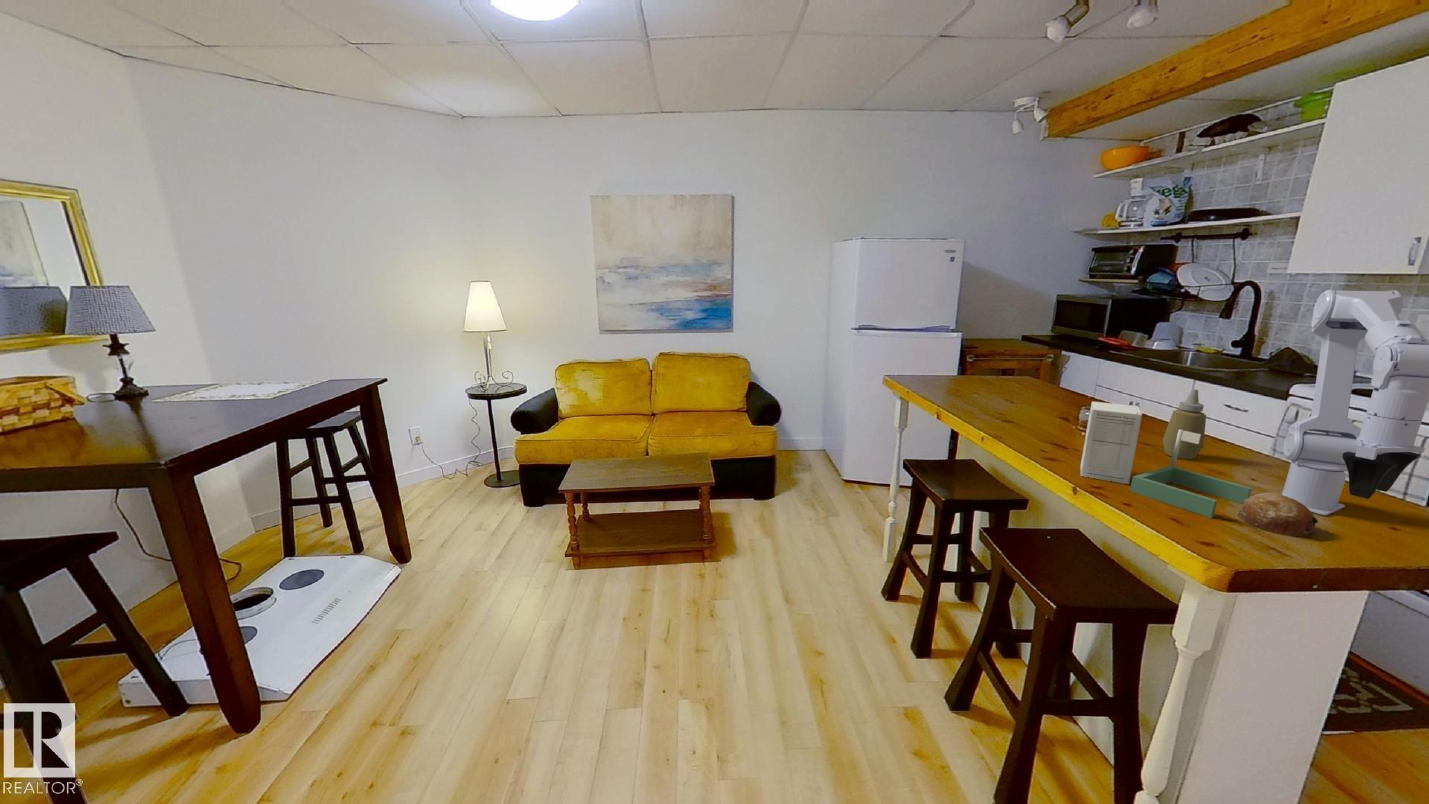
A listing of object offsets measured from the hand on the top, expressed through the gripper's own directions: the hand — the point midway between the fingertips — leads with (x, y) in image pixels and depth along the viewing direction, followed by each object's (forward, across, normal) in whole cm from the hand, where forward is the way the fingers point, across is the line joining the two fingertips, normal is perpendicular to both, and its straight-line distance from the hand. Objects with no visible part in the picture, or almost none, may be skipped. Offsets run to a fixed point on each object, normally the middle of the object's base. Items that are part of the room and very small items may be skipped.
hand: (1368, 492), depth 89 cm
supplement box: (+10, -3, +39) cm, 40 cm away
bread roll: (+11, 0, +10) cm, 15 cm away
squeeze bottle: (+10, +29, +38) cm, 49 cm away
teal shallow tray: (+10, 0, +23) cm, 25 cm away
